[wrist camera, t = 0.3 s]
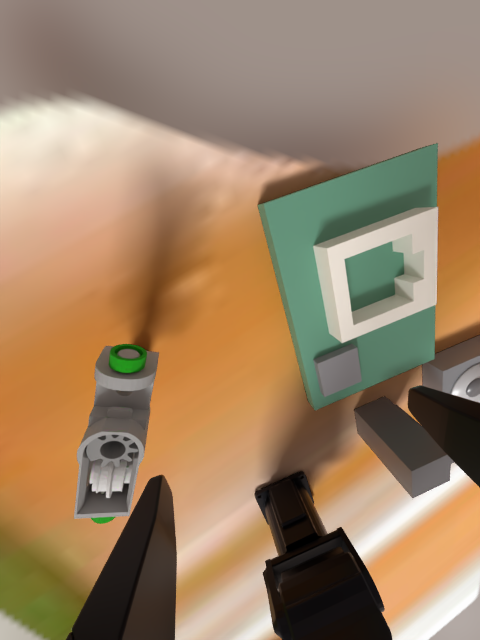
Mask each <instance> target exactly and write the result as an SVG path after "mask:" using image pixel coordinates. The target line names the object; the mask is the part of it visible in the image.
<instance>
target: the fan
mask: <svg viewBox="0 0 480 640" xmlns="http://www.w3.org/2000/svg"><path fill="white" fill-rule="evenodd" d="M422 374H423V386H425V387H429V388H432V389H435V390H439V391H442V392H445V393H449V394H452V395H455V396H459V397H462V398H466V399H469V400H472V401H476V402H479V403H480V335H478V336H476V337H474V338H471V339H469V340H467V341H464V342H462V343H460V344H457V345H455V346H453V347H450V348H448V349H446V350H443V351H441V352H439V353H436V354H435V359H433V360H431V361H429V362H426V363H424V364H422Z"/></svg>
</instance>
